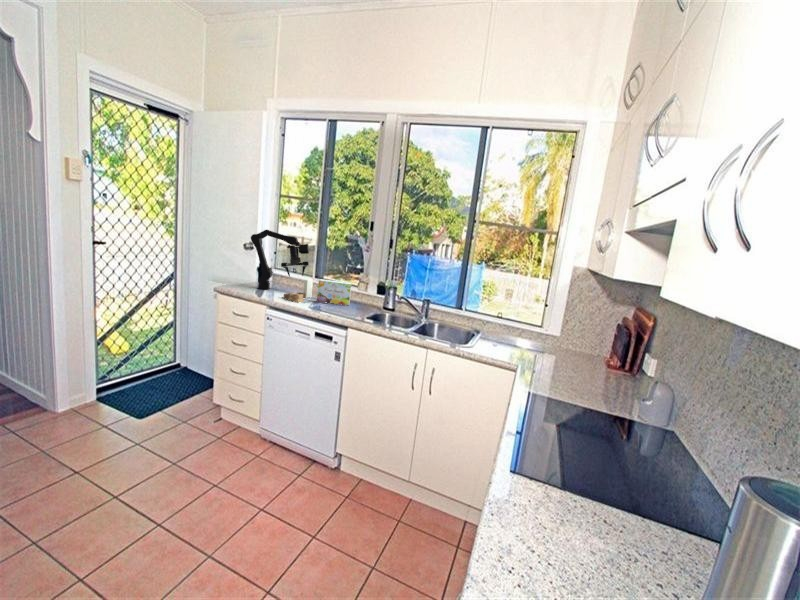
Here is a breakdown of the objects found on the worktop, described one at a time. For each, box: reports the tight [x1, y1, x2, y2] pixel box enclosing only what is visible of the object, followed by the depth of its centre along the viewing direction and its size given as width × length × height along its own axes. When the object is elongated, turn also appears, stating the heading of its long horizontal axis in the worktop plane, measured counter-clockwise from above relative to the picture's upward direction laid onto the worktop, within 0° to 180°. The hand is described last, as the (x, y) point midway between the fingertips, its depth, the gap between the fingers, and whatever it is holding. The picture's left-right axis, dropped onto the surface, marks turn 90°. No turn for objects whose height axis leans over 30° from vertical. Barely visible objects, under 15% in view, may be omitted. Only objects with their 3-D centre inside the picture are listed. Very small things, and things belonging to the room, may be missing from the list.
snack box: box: [316, 278, 352, 306], centre depth 251 cm, size 21×6×15 cm, turn 92°
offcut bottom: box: [289, 298, 305, 304], centre depth 244 cm, size 8×5×2 cm, turn 57°
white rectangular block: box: [302, 279, 314, 299], centre depth 261 cm, size 3×5×12 cm, turn 148°
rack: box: [283, 292, 307, 300], centre depth 253 cm, size 6×14×3 cm, turn 147°
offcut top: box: [290, 292, 303, 299], centre depth 244 cm, size 7×4×2 cm, turn 66°
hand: (296, 276), depth 270 cm, fingers open, 9 cm apart
